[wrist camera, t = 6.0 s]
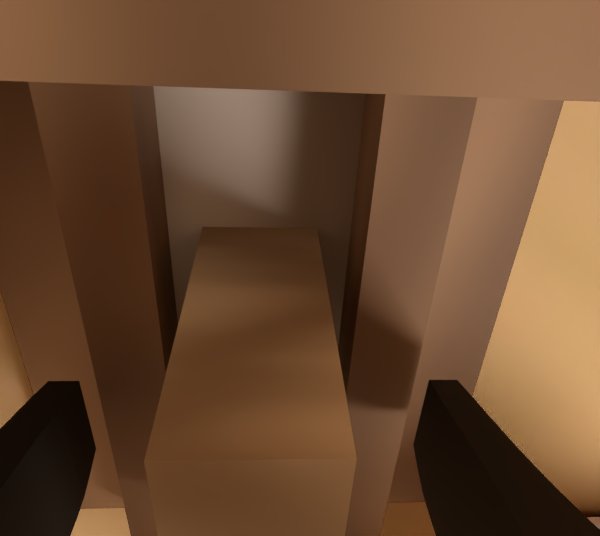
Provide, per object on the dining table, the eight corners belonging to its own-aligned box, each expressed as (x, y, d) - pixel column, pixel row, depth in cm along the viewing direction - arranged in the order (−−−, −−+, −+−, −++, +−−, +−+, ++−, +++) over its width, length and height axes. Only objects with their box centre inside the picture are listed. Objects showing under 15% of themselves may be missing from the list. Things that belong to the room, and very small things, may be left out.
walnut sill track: (583, -42, 9) (841, -42, 5) (432, 480, 18) (484, 647, 13) (-90, -80, 9) (-437, -114, 4) (78, 486, 17) (13, 666, 12)
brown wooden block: (319, 228, 11) (360, 458, 6) (304, 441, 15) (322, 696, 10) (200, 226, 11) (140, 461, 6) (215, 442, 15) (185, 702, 10)
